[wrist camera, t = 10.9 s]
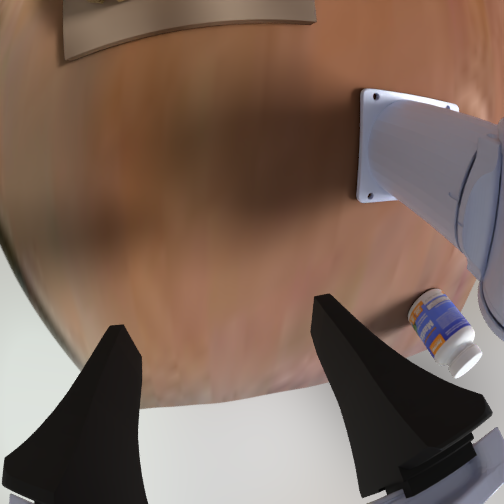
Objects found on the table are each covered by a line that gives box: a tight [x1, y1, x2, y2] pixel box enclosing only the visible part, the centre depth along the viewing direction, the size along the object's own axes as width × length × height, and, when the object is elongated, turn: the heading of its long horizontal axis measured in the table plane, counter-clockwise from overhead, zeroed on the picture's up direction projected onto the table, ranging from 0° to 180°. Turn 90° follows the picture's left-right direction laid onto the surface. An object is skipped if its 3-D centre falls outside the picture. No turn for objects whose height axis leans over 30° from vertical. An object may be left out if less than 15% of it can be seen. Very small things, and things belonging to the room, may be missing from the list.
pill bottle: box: [408, 289, 482, 379], centre depth 24 cm, size 5×5×10 cm
